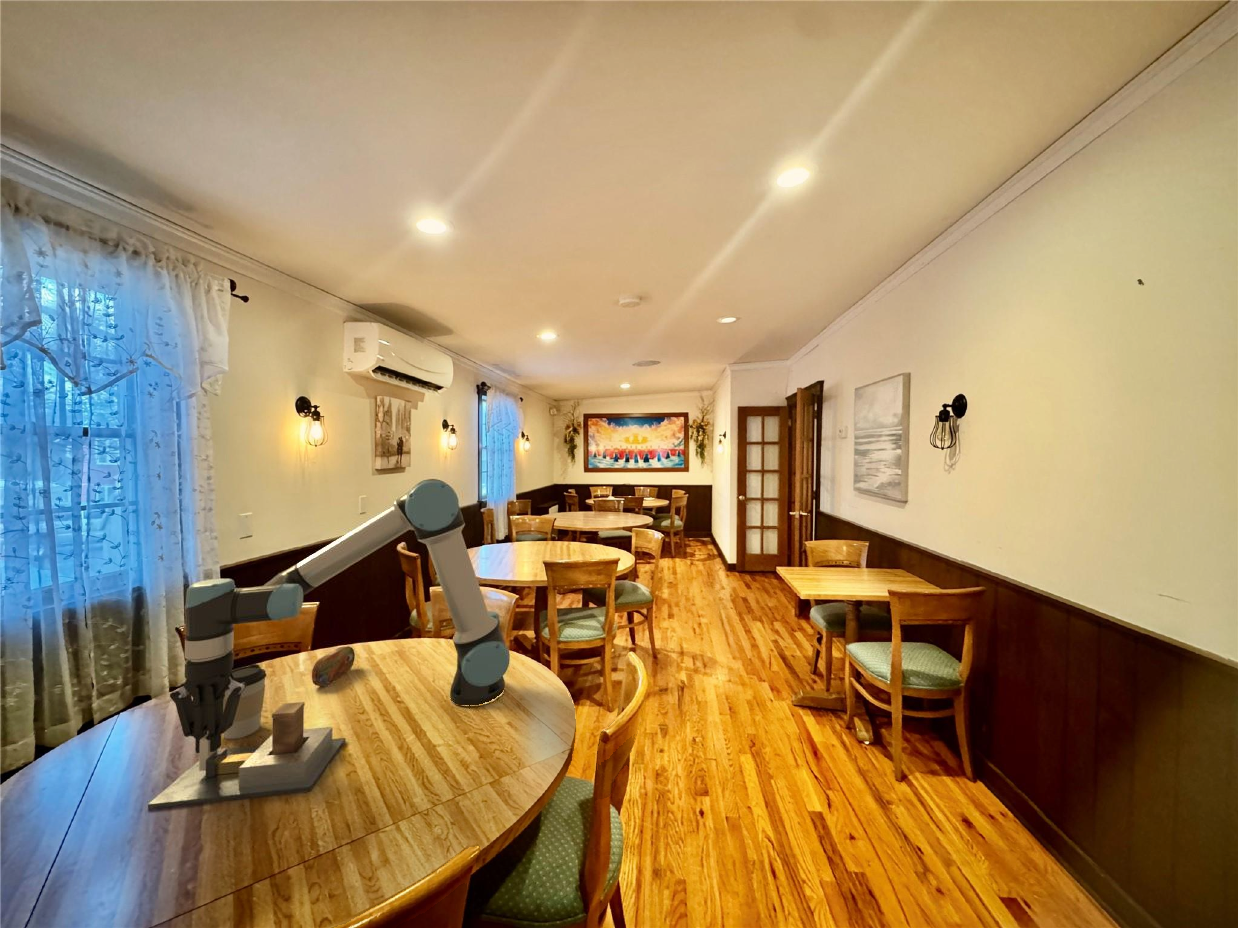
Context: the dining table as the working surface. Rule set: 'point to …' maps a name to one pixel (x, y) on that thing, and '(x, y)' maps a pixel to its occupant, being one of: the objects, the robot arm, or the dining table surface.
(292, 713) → the peg
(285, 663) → the dining table surface
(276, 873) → the dining table surface
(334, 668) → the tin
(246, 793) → the dock
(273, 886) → the dining table surface
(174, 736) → the dining table surface
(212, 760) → the pin
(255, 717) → the coffee cup
